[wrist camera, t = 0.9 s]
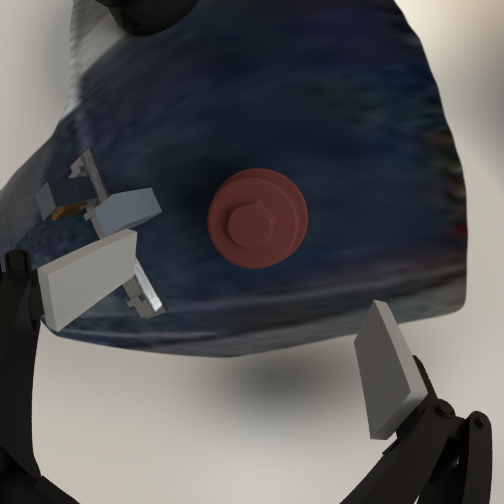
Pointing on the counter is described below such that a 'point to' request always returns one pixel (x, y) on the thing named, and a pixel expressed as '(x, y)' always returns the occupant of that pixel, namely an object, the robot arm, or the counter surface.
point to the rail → (96, 223)
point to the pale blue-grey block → (126, 210)
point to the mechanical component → (257, 218)
